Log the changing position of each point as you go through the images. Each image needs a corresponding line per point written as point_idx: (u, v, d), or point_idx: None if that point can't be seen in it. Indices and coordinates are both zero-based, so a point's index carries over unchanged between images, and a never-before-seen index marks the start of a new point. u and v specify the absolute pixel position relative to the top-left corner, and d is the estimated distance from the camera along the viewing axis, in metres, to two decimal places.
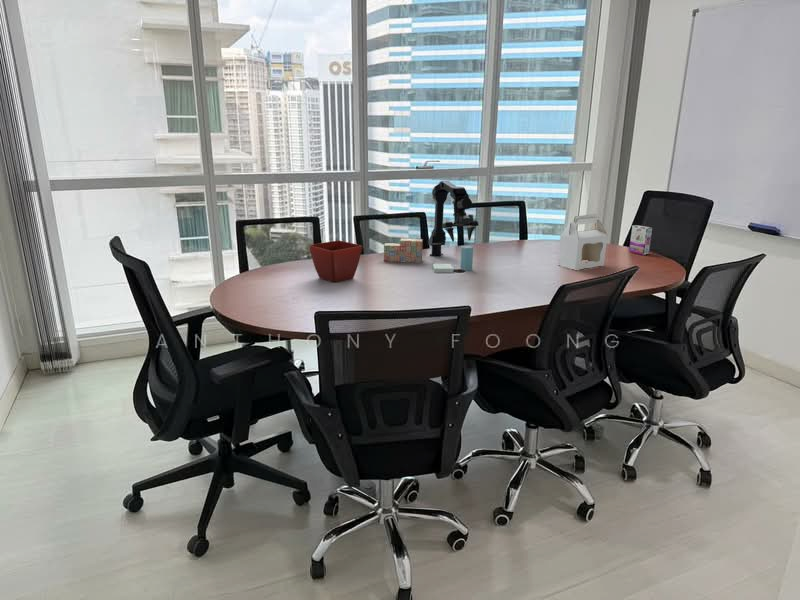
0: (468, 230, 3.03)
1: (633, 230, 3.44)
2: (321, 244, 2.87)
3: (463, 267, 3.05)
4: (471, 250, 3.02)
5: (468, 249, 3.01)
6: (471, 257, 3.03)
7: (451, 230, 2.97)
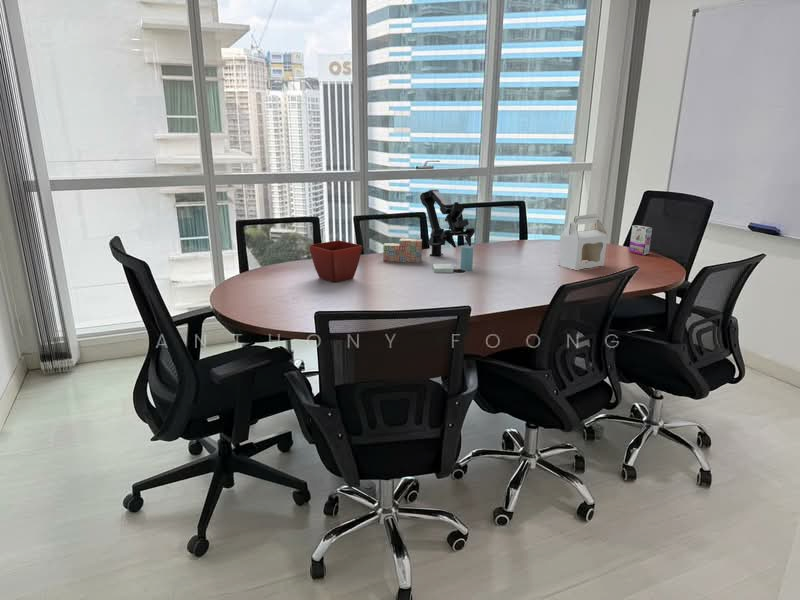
0: (467, 238, 3.12)
1: (633, 230, 3.44)
2: (321, 244, 2.87)
3: (463, 267, 3.05)
4: (471, 250, 3.02)
5: (468, 249, 3.01)
6: (471, 257, 3.03)
7: (451, 236, 3.06)
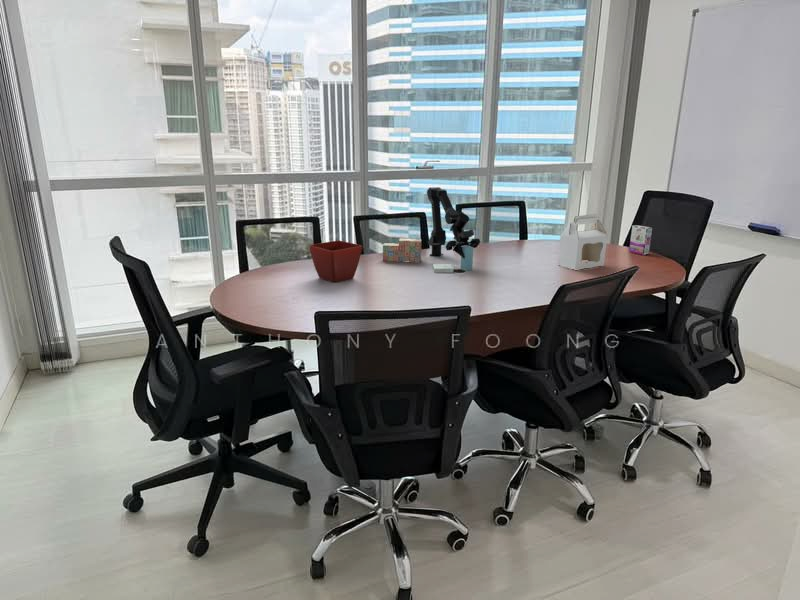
0: None
1: (633, 230, 3.44)
2: (321, 244, 2.87)
3: (463, 267, 3.05)
4: (471, 250, 3.02)
5: (468, 249, 3.01)
6: (471, 257, 3.03)
7: (459, 247, 3.03)
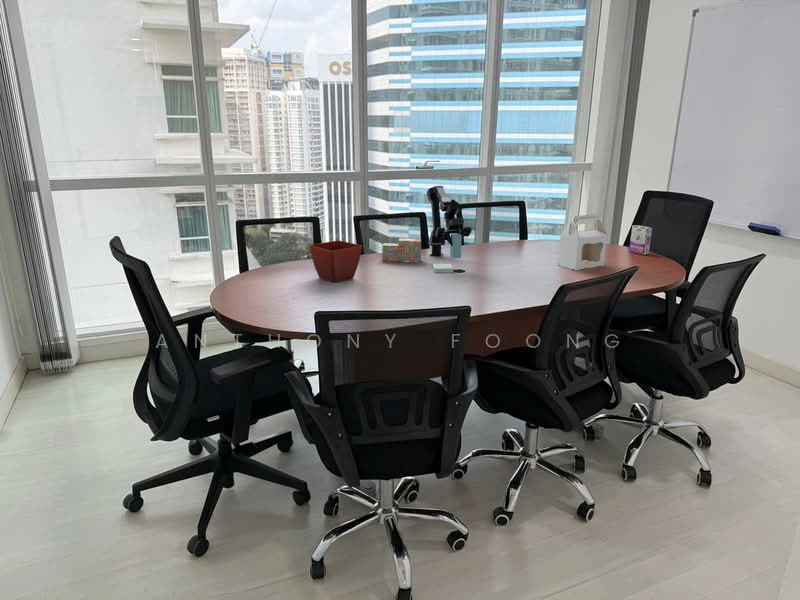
0: None
1: (633, 230, 3.44)
2: (321, 244, 2.87)
3: (451, 255, 3.01)
4: (459, 238, 2.98)
5: (456, 237, 2.97)
6: (459, 245, 2.99)
7: (448, 234, 2.99)
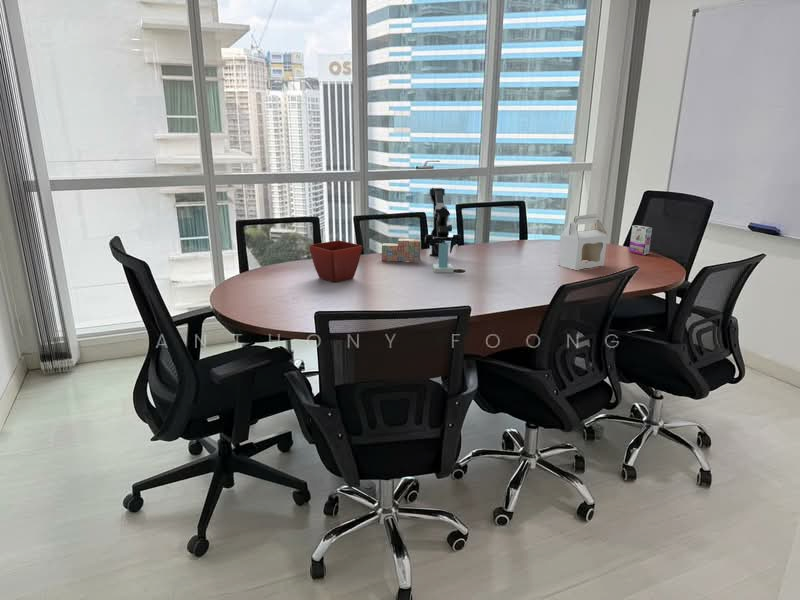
0: (450, 245, 3.04)
1: (633, 230, 3.44)
2: (321, 244, 2.87)
3: (438, 264, 3.03)
4: (446, 247, 2.98)
5: (442, 246, 2.98)
6: (446, 254, 3.00)
7: (433, 241, 3.01)
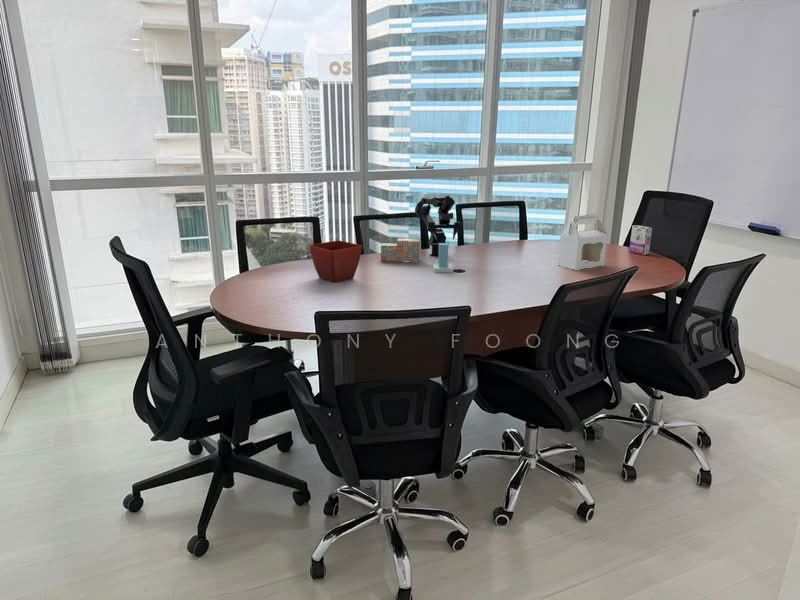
0: (453, 232, 3.17)
1: (633, 230, 3.44)
2: (321, 244, 2.87)
3: (438, 264, 3.03)
4: (446, 247, 2.98)
5: (442, 246, 2.98)
6: (446, 254, 3.00)
7: (434, 228, 3.14)
